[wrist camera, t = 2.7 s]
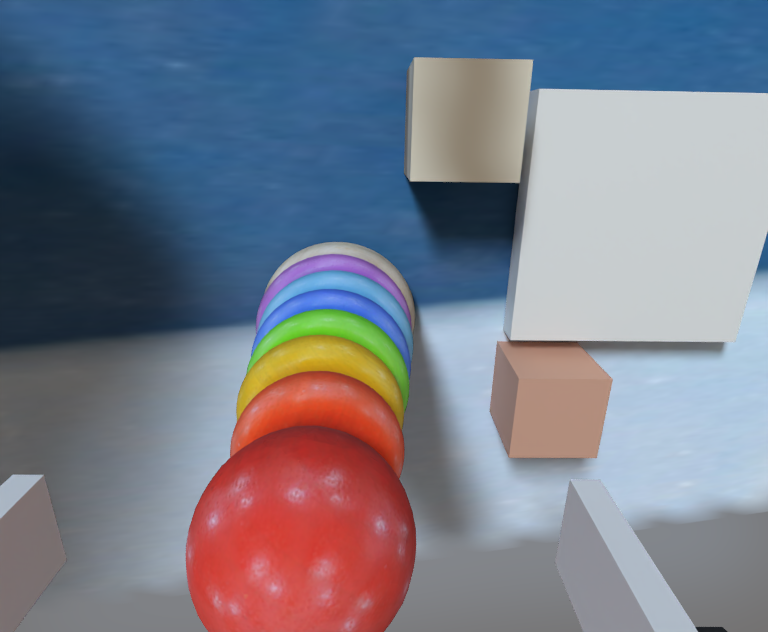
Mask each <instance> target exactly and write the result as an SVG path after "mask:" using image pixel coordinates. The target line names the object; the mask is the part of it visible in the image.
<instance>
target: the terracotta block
mask: <svg viewBox="0 0 768 632" xmlns="http://www.w3.org/2000/svg"><path fill="white" fill-rule="evenodd" d="M612 380H613V379H612V378H611V377H610V376H609V375H608V374H607V373H606V372H605V371H604V370H603V369H602V368H601V367H600V366H599V365H598V364H597V363H596V362H595V361H594V359H593V358H592V357H591V356H590V355H589V354H588V353H587V352H586V351H585V350H584V349H583V348H582V347H581V346H580V345H579V344H578V343H577V342H498V341H497V348H496V357H495V366H494V376H493V385H492V394H491V404H490V413H491V416H492V418H493V420H494V423H495V425H496V428H497V430H498V433H499V435H500V437H501V440H502V442H503V445H504V447H505V449H506V452H507V454H508V457H509V458H597V454H598V449H599V444H600V439H601V434H602V429H603V424H604V420H605V415H606V410H607V405H608V400H609V395H610V390H611V385H612Z"/></svg>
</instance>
